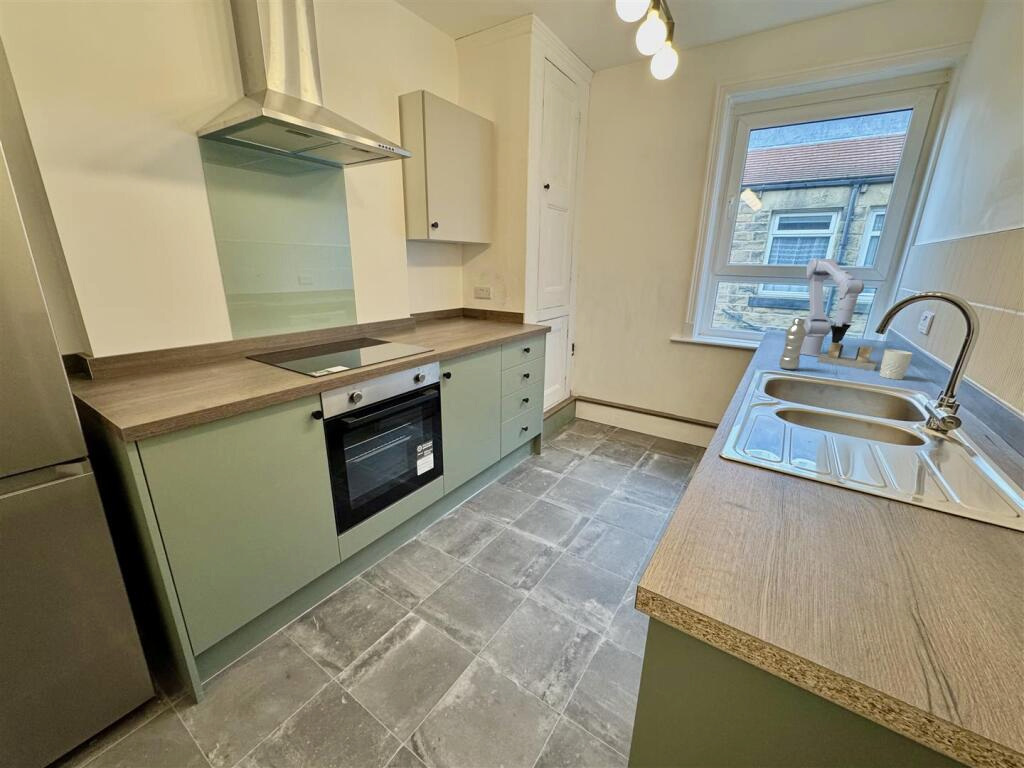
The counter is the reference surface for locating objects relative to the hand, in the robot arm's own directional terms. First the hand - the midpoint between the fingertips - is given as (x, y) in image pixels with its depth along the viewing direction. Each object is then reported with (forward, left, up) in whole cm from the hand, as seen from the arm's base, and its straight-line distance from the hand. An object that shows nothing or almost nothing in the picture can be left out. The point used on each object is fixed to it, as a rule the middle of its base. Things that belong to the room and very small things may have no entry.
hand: (836, 341), depth 174 cm
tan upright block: (+10, 0, -8) cm, 13 cm away
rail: (+5, 0, -9) cm, 11 cm away
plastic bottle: (-10, -29, -9) cm, 32 cm away
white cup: (+20, -11, -9) cm, 25 cm away
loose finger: (0, 0, -8) cm, 8 cm away
